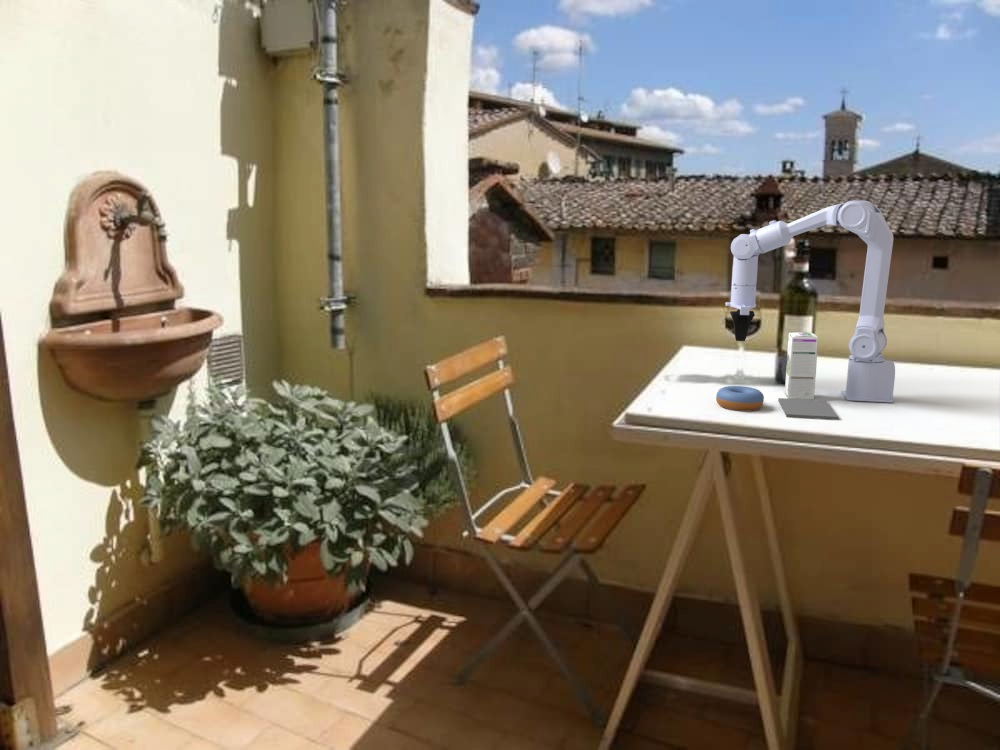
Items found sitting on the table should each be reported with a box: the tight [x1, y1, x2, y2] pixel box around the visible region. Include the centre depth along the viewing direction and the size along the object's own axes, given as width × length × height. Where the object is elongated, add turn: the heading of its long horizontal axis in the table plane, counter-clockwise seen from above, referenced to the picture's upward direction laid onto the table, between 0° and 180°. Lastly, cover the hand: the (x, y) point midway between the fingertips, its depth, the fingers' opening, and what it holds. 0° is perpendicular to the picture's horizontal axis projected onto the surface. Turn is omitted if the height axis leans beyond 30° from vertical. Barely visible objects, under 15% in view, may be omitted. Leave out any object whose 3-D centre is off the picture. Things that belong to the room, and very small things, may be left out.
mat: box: [777, 397, 839, 420], centre depth 168 cm, size 10×14×1 cm
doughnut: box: [715, 385, 765, 412], centre depth 171 cm, size 10×10×5 cm
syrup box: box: [784, 331, 819, 400], centre depth 178 cm, size 6×6×14 cm
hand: (740, 340), depth 192 cm, fingers closed
